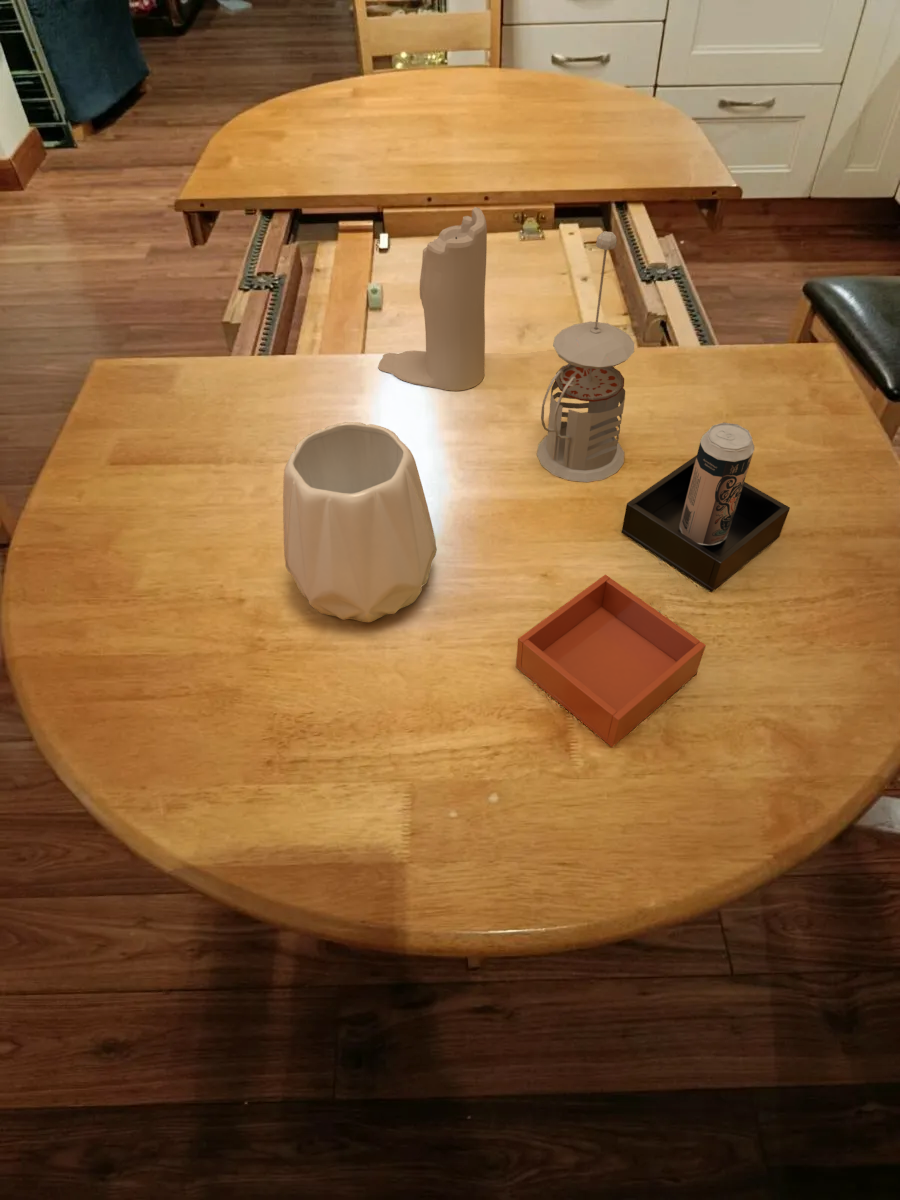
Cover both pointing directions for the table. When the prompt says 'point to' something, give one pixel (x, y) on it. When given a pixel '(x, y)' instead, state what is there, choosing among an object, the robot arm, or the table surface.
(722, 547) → the black bin
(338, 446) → the vase
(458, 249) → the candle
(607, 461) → the french press
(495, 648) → the table surface
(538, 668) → the terracotta bin
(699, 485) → the beer can
